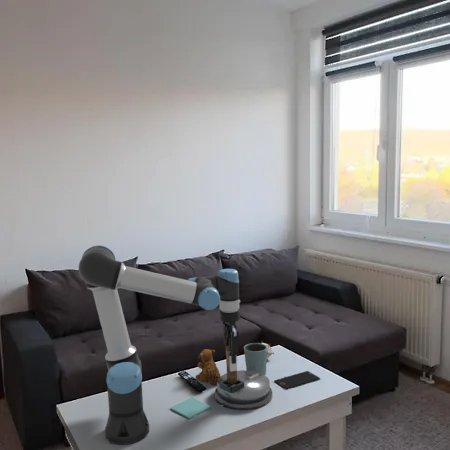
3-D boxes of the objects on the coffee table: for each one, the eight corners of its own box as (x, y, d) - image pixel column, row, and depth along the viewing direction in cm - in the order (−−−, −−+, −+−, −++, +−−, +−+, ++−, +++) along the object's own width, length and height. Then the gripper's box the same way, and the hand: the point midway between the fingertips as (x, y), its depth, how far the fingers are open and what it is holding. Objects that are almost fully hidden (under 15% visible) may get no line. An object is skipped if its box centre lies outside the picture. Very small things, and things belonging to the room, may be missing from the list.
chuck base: (241, 377, 216) (241, 373, 216) (284, 394, 200) (284, 390, 199) (202, 396, 200) (202, 392, 199) (245, 416, 184) (245, 412, 183)
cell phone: (273, 382, 211) (273, 380, 211) (307, 372, 220) (307, 370, 220) (286, 390, 204) (286, 388, 203) (320, 380, 212) (320, 378, 212)
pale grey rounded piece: (268, 366, 236) (281, 350, 233) (257, 365, 229) (270, 349, 227) (258, 352, 241) (270, 337, 239) (247, 351, 235) (259, 335, 233)
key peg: (232, 384, 191) (231, 349, 189) (224, 381, 194) (223, 346, 192) (239, 380, 194) (238, 346, 192) (232, 377, 197) (230, 343, 195)
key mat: (189, 419, 183) (189, 417, 183) (170, 409, 190) (170, 407, 190) (211, 407, 190) (211, 406, 190) (191, 398, 198) (191, 397, 198)
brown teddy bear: (215, 372, 222) (214, 343, 220) (227, 385, 209) (226, 355, 208) (193, 376, 218) (192, 347, 217) (205, 390, 205) (204, 359, 204)
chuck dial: (241, 375, 214) (241, 361, 213) (280, 390, 199) (280, 375, 199) (206, 392, 199) (205, 378, 199) (245, 409, 185) (244, 394, 184)
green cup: (268, 377, 215) (267, 351, 213) (244, 378, 215) (244, 351, 213) (266, 367, 225) (266, 342, 223) (244, 368, 225) (243, 342, 223)
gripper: (246, 315, 183) (247, 375, 186) (232, 302, 199) (234, 358, 202) (226, 317, 181) (228, 378, 184) (214, 304, 197) (216, 361, 200)
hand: (231, 368), depth 193 cm, fingers closed on key peg, 4 cm apart
